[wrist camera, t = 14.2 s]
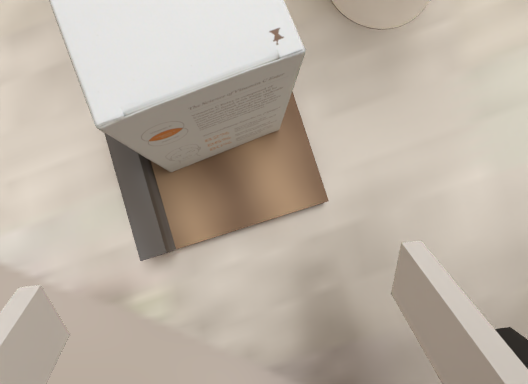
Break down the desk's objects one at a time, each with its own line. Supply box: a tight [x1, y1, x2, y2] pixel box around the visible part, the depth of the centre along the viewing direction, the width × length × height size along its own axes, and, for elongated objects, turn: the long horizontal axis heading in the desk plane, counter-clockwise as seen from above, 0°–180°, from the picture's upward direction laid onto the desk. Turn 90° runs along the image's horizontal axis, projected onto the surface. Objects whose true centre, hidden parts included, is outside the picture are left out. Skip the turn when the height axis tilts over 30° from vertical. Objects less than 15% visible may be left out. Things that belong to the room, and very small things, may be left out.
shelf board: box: [105, 92, 328, 261], centre depth 21 cm, size 12×22×4 cm, turn 17°
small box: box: [49, 0, 306, 172], centre depth 16 cm, size 8×6×10 cm
